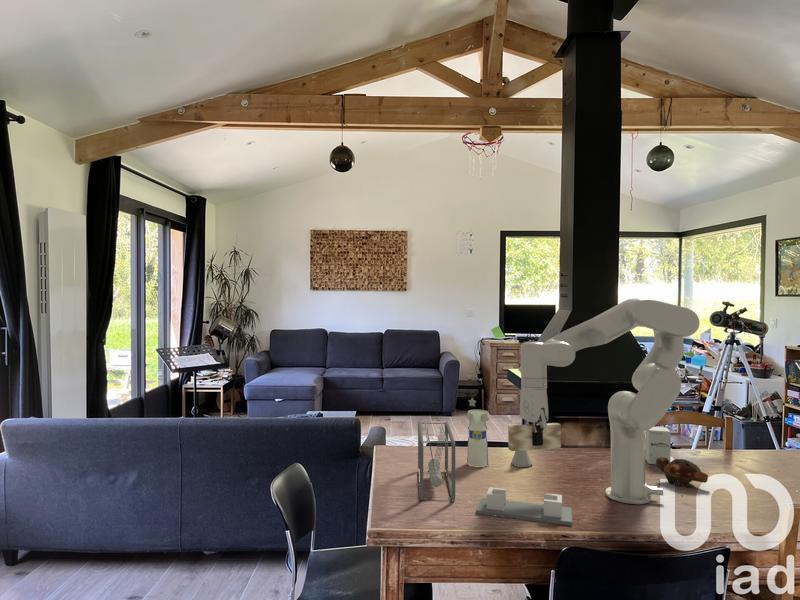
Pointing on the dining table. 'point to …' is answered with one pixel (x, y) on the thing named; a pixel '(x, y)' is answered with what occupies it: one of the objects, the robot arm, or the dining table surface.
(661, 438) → the supplement box
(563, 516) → the frame
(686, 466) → the decorative turtle
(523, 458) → the flask
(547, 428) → the slat
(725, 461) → the dining table surface
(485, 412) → the water bottle
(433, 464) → the newton's cradle
